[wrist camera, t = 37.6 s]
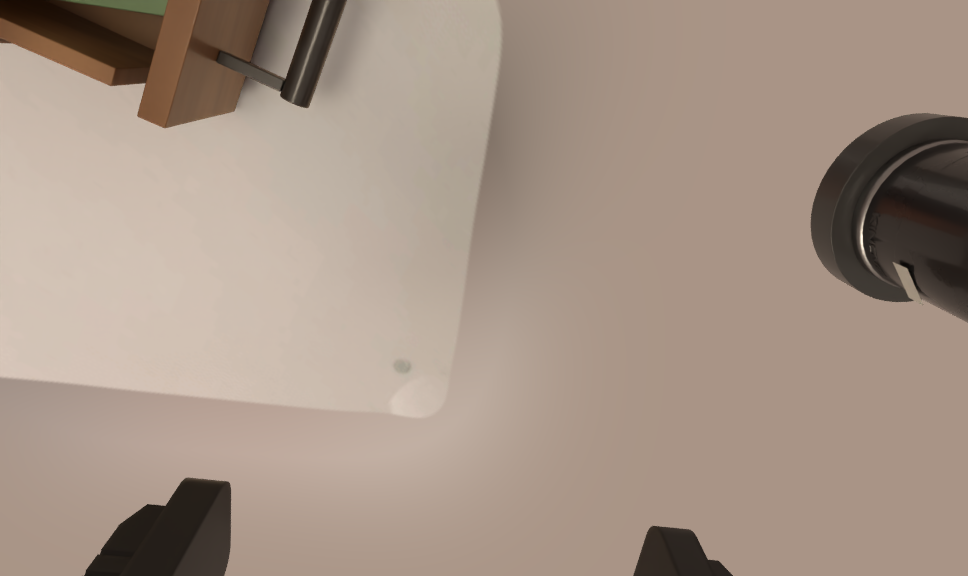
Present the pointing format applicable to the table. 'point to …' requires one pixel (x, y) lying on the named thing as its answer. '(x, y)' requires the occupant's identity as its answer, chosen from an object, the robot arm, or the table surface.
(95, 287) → the table surface
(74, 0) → the block
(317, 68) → the drawer
